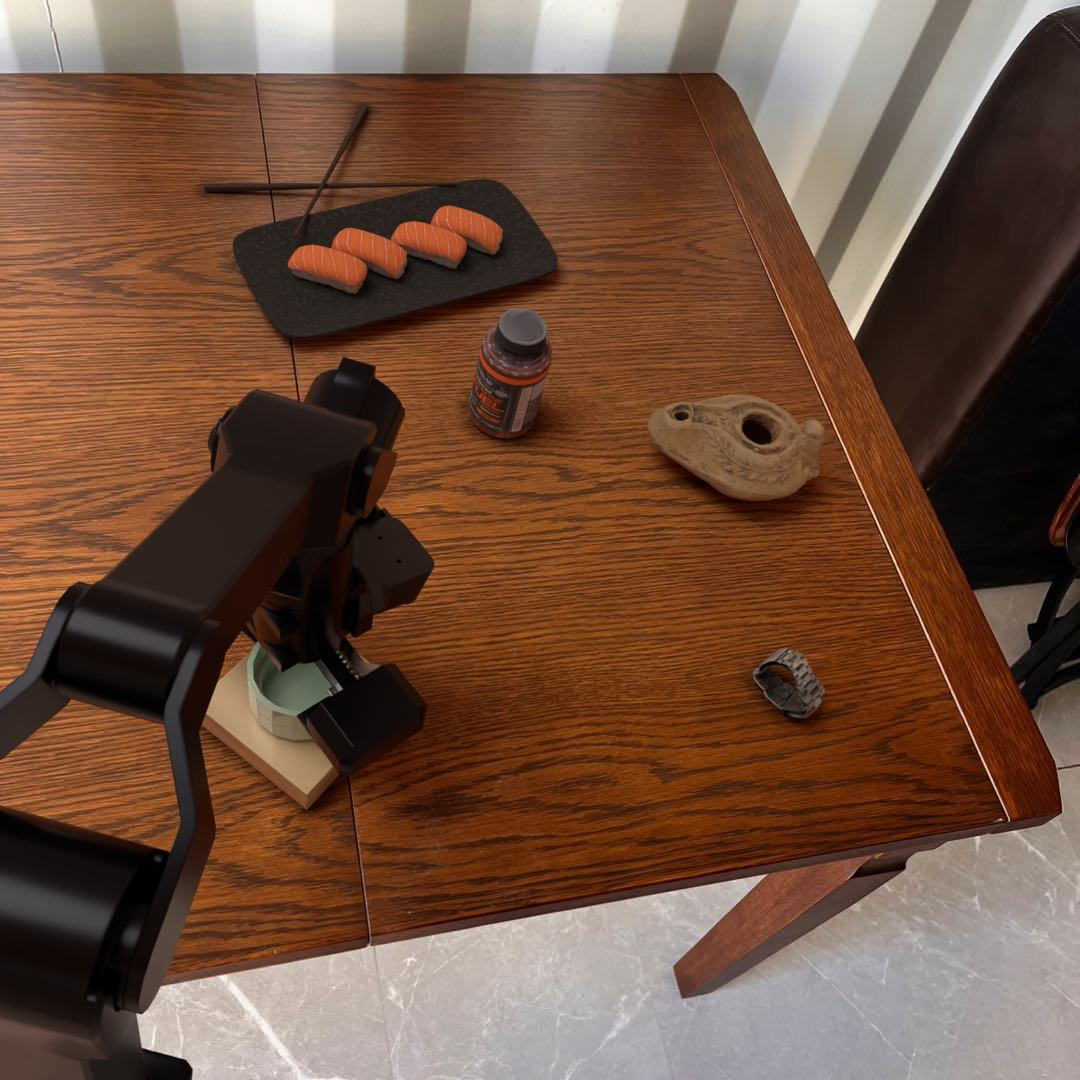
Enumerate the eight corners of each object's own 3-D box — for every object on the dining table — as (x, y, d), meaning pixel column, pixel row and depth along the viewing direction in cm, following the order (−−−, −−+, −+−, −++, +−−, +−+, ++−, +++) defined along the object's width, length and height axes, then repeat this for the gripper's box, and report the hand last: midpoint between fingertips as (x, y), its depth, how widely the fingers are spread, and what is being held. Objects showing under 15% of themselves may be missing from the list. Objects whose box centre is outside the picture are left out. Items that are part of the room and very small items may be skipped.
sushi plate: (282, 360, 94) (282, 329, 91) (164, 143, 106) (160, 109, 103) (566, 283, 106) (574, 253, 103) (430, 95, 118) (433, 64, 115)
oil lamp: (632, 415, 98) (656, 355, 91) (788, 424, 101) (821, 366, 94) (648, 516, 92) (675, 459, 86) (813, 522, 95) (851, 467, 88)
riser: (306, 810, 73) (306, 795, 71) (197, 722, 75) (194, 703, 73) (401, 706, 79) (404, 688, 76) (297, 626, 81) (297, 606, 78)
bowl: (304, 762, 72) (304, 736, 68) (228, 701, 73) (224, 672, 70) (371, 691, 76) (375, 662, 72) (298, 634, 77) (297, 603, 73)
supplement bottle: (453, 412, 95) (469, 320, 85) (498, 378, 98) (519, 286, 88) (504, 453, 93) (526, 364, 84) (548, 417, 96) (574, 328, 87)
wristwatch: (761, 712, 85) (813, 722, 81) (744, 655, 84) (796, 662, 80) (783, 692, 87) (836, 701, 83) (767, 636, 86) (820, 642, 82)
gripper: (515, 618, 61) (478, 729, 74) (329, 398, 67) (325, 535, 80) (349, 724, 56) (340, 823, 69) (164, 475, 62) (188, 608, 75)
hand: (301, 687), depth 73 cm, fingers closed on bowl, 7 cm apart
